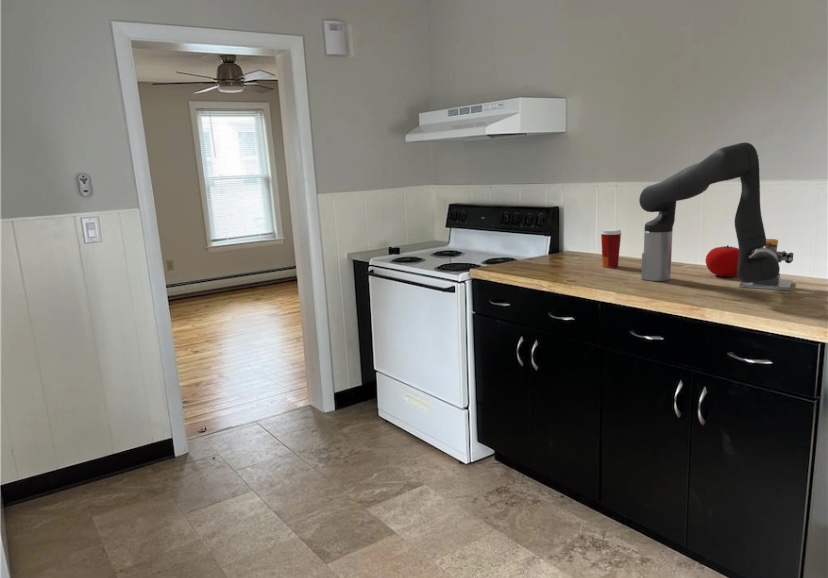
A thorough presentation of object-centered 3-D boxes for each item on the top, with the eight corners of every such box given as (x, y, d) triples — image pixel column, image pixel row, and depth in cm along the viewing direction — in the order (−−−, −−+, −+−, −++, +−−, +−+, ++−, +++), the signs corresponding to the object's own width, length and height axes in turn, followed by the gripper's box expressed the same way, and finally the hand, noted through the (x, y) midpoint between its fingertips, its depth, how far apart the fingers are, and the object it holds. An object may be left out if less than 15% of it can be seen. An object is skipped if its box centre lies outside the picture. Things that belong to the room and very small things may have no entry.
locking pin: (758, 282, 200) (762, 240, 197) (759, 280, 203) (764, 238, 200) (772, 283, 197) (777, 241, 194) (773, 281, 201) (778, 239, 198)
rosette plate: (739, 287, 199) (739, 276, 198) (744, 279, 210) (745, 270, 209) (789, 290, 191) (790, 279, 190) (792, 282, 202) (793, 272, 202)
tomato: (750, 278, 212) (752, 247, 210) (709, 279, 214) (711, 248, 212) (739, 273, 223) (741, 243, 221) (701, 273, 226) (702, 243, 224)
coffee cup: (623, 265, 249) (624, 229, 246) (617, 268, 242) (618, 231, 239) (602, 264, 253) (603, 228, 251) (596, 267, 247) (597, 230, 244)
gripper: (791, 249, 182) (795, 243, 195) (738, 247, 190) (745, 241, 203) (789, 274, 184) (793, 266, 197) (737, 271, 192) (743, 263, 205)
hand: (768, 253), depth 200 cm, fingers open, 8 cm apart
